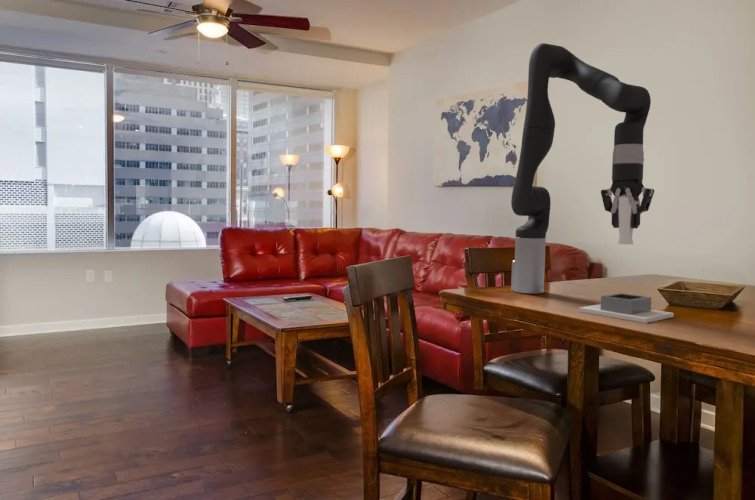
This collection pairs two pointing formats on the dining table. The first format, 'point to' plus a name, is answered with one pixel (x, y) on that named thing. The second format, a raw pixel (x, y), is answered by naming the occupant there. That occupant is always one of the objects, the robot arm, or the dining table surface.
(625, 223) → the perfume bottle
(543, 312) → the dining table surface
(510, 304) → the dining table surface
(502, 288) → the dining table surface
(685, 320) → the dining table surface
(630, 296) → the socket collar
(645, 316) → the stand board
